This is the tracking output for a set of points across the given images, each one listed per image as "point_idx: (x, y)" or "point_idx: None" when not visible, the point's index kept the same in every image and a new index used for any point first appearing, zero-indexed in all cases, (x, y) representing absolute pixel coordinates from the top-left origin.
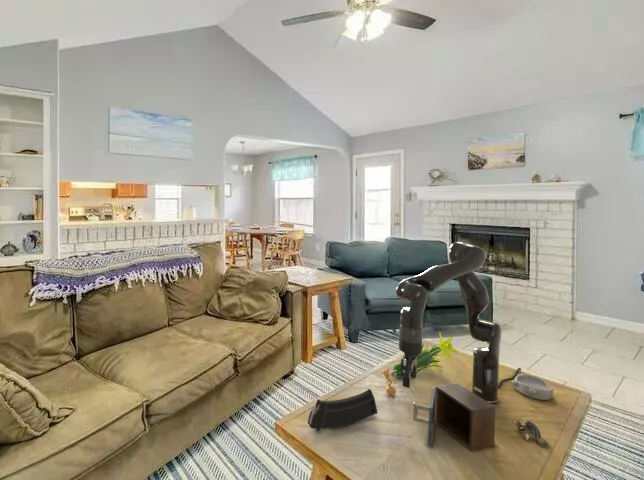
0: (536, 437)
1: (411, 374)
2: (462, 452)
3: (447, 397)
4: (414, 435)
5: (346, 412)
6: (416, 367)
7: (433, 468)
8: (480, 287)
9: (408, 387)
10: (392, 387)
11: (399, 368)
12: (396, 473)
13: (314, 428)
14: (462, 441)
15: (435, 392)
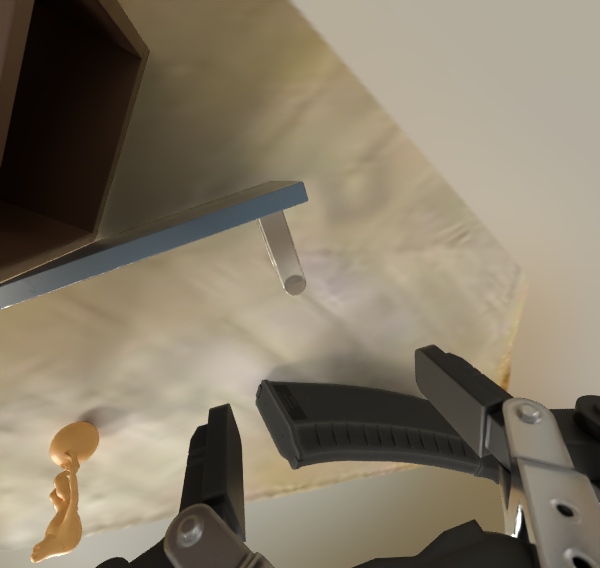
0: None
1: (237, 450)
2: (198, 79)
3: None
4: (254, 251)
5: (394, 417)
6: (205, 512)
7: (372, 130)
8: None
9: (432, 347)
10: (66, 452)
11: None
12: (463, 201)
13: None
14: (132, 96)
15: (24, 275)
